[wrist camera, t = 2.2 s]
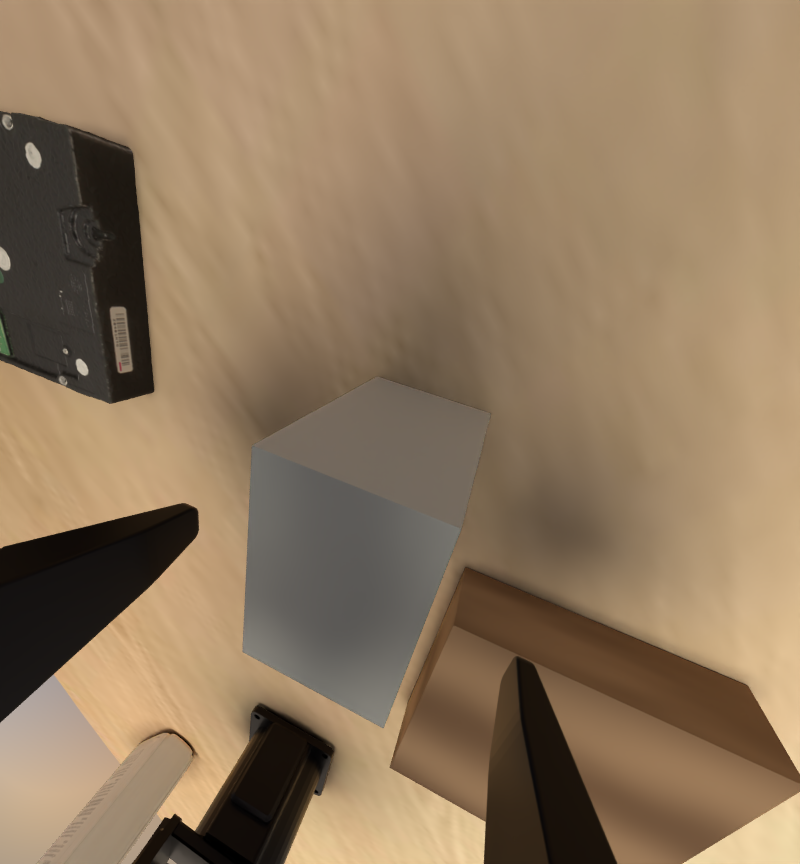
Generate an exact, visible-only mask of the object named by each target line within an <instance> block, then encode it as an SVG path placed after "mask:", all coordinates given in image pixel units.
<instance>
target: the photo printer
mask: <svg viewBox="0 0 800 864" xmlns="http://www.w3.org/2000/svg"><path fill="white" fill-rule="evenodd" d="M192 760H193V756H192V750H191V748H190V747H189V746H188V745H187V744H186V743H185V742H184V741H183V740H182V739H181V738H180V737H179V736H177V735H176V734H169V733H162V734H159V735H157V736H154V737H152V738H150V739H148V740H146V741H143V742H142V743H140V744H139V745H138V746H137V747H136V748H135V749H134V750H133V751H132V752H131V753H130V754H129V755H128V757H127V758H126V759H125V760H124V761H123V762H122V764H121V765H120V766H119V767H118V769H117V770H116V771H115V772H114V773H113V774H112V776H111V777H110V778H109V779H108V780H107V781H106V783H105V784H104V785H103V786H102V787H101V788H100V790H99V791H98V792H97V793H96V794H95V795H94V797H93V798H92V799H91V800H90V801H89V802H88V804H87V805H86V806H85V807H84V808H83V809H82V811H81V812H80V813H79V814H78V815H77V817H76V818H75V819H74V820H73V821H72V823H71V824H70V825H69V826H68V827H67V828H66V829H65V831H64V832H63V833H62V834H61V836H59V838H58V839H57V840H56V841H55V842H54V843H53V845H52V846H51V847H50V848H49V849H48V850H47V852H46V853H45V854H44V855H43V856H42V857H41V859H40V860H39V861H38V862H37V863H36V864H121V862H122V861H123V859H124V858H125V857H126V855H127V854H128V853H129V851H130V850H131V848H132V847H133V846H134V844H135V843H136V841H137V840H138V838H139V837H140V836H141V834H142V833H143V831H144V830H145V829H146V827H147V826H148V824H149V823H150V822H151V820H152V819H153V817H154V816H155V814H156V813H157V812H158V810H159V809H160V807H161V806H162V804H163V803H164V802H165V800H166V799H167V797H168V796H169V795H170V793H171V792H172V790H173V789H174V787H175V786H176V785H177V783H178V782H179V780H180V779H181V777H182V776H183V775H184V773H185V772H186V770H187V769H188V767H189V765H190V764H191V762H192Z"/></svg>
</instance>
